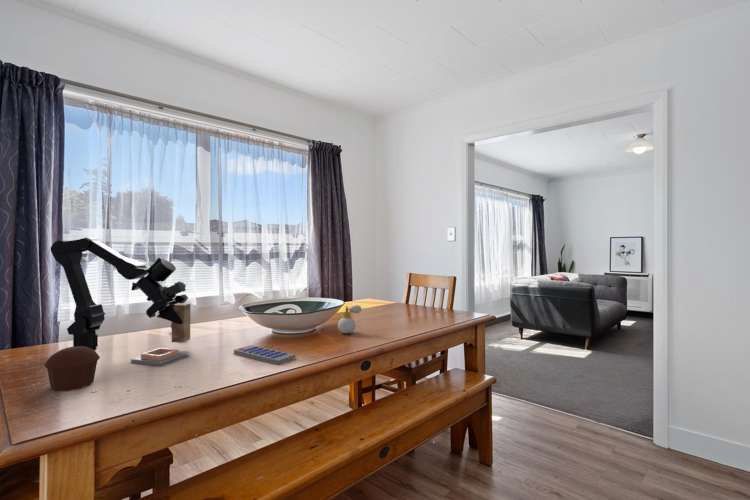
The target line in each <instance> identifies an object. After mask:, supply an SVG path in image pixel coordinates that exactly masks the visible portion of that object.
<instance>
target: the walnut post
mask: <svg viewBox="0 0 750 500" xmlns="http://www.w3.org/2000/svg"><path fill="white" fill-rule="evenodd" d="M173 308H174V311H175V312H176V314H177V315H178V316H179V317H180V319H181V320H182V322H183V323H182V324H181V325H180V324H177V323H174V322H172V321H171V323H172V329H171V343H186V342H188V341H189V340H191V303H189V302H184V303H177V304H174V305H173Z"/></svg>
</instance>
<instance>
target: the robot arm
mask: <svg viewBox="0 0 750 500" xmlns="http://www.w3.org/2000/svg"><path fill="white" fill-rule="evenodd" d="M87 251H89V252H90V253H92V254H93V255H95V256H96V257H99V258H100V259H101V260H103V261H105V262H107V264H110V265H111V266H113V267H114V268H115V269H116V271H117V273H118V274H119V275H121V276H122V277H123V278H124V279H125V280H127V281H128V280H137V281H135V282H132V286H131V291H137V290H140V291H141V292H142V293H143V294H144V295H145V296H146V297H147V298H146V300H147V302H150V301H151V302H152V304H151V305H150V306H149V307H148V308H147V309H145V310H146V311H145V314H146V315H145V316H147V317H148V318H149V319H152V318H155V317H157V318H159V319H163V320H166V321H168V322H171V323H172V322H174V323H177V324H180V325H181V324H182V323H183V322H182V320H181V319H180V317H179V316H178V315H177V314H176V312H175V311H174V308H173V305H174V304H177V303H186V301H188V299H189V296H188V295H186V294H185V293H184V292H186V291H187V290H186V287H187V285H186V283H184V282H183V281H177V282H174V284H172V285H171V286H167V285H166V286H163V285H162V284H160V282H165V281H166V280H167V279H168V278H169V277H171V275H172V274H173V273H175V271H176V269H177V267H176V266H175V265H174V264H173V263H172V262H170V261H168V260H166V259H165V258H164V257H158V258H157V259H156V260H155V262H154V263H153V264H151V265H150V266H147V265H146V264H145V263H144V262H141V261H138V260H137V259H133V258H130V257H126V256H124V255H123V254H121V253H119V252H118V251H116V250H114V249H113V248H111V247H109V246H108V245H106V244H105V243H103V242H101V241H100V240H99V239H98V238H96V237H83V238H79V239H73V240H56V241H54V242H53V243H52V245H51V246H50V252H51V254H52V256H53V258H54V260H55V261H56V263H59V265H60V266H61V267H62V268H63V270H64V274H65V276H66V280H67V282H68V286H69V288H70V291H71V293H72V294H71V295H72V298H73V300H74V304H75V310H74V313H73V317H74V319H73V320H74V321H73V322H72V323H71V324H70V325H69V326H68V327H67V328H66V331H67V334H68V335H69V336H70V335H72V347H74V346H84V347H88V348H91V349H93V350H94V351H96V350H97V348H98V346H99V345H98V343H99V338H98V337H99V336H98V334H97V333H96V332H97V331H98V330H100V329H101V326H102V324H103V322H104V321H105V315H106V312H105V311H104V308H103V305H102V303H99V304H96V303H95V302H94V300H93V297H92V294H91V291H90V289H89V285H88V282H87V280H86V276H85V274H84V270H83V268H82V267H83V266H82V265H81V264H82V263H81V261H82V257H83V252H84V253H85V252H87ZM182 292H183V293H184V294H183V293H182ZM180 293H182V294H180ZM156 313H158V315H157V314H156Z"/></svg>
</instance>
